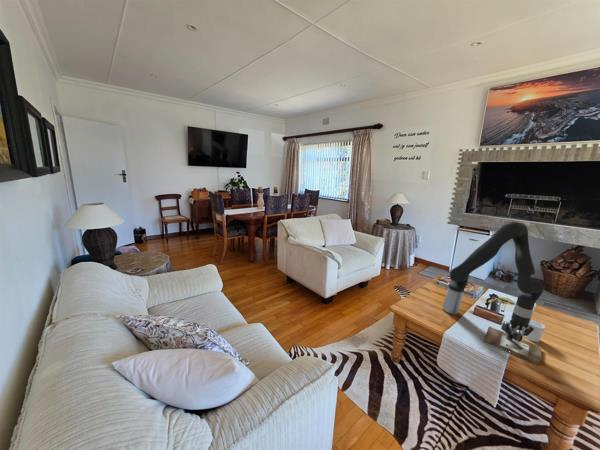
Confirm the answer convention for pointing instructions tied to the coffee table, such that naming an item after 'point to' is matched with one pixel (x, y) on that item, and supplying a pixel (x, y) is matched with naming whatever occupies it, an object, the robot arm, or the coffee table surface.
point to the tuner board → (528, 351)
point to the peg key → (515, 336)
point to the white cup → (536, 331)
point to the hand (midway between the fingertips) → (514, 339)
